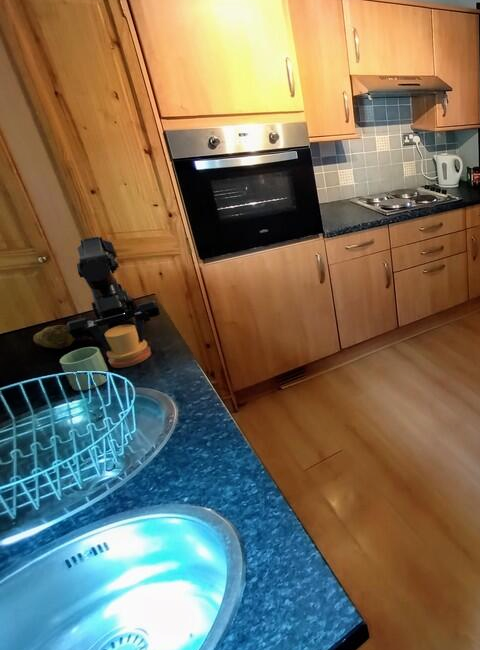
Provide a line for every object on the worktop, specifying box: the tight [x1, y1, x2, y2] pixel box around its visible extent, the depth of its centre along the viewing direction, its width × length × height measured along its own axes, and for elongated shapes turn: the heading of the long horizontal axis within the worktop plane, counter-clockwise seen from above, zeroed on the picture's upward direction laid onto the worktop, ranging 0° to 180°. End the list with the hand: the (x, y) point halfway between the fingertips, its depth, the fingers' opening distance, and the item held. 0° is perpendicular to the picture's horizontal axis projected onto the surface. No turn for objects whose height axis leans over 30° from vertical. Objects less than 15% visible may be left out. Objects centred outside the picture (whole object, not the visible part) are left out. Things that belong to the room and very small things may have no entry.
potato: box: [32, 324, 77, 350], centre depth 126 cm, size 8×13×8 cm, turn 50°
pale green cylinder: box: [59, 346, 110, 392], centre depth 113 cm, size 7×7×8 cm
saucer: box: [107, 345, 152, 369], centre depth 123 cm, size 9×9×1 cm
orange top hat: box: [103, 324, 148, 360], centre depth 122 cm, size 9×9×8 cm
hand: (126, 346), depth 121 cm, fingers closed on orange top hat, 6 cm apart
